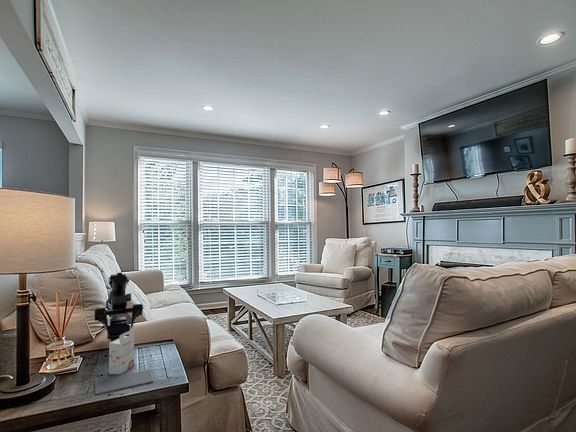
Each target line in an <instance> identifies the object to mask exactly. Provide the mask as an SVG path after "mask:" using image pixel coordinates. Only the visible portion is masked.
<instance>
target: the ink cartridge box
mask: <svg viewBox="0 0 576 432" xmlns="http://www.w3.org/2000/svg"><path fill="white" fill-rule="evenodd" d="M128 334H129V336H126V335H128ZM108 343H109V344H108V348H109V349H108V353H109V354H108V374H110V375H117V376H119V375H122V374H123V373H124V372H126V371H128V370H130V369H131V368H133V367H134V365H135V333H134V329H130V331H128V332H126V333H124V334H122V335H120V336H119V339H117V340H115V341H113V342H111V341H110V342H108Z"/></svg>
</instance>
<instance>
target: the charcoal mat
mask: <svg viewBox="0 0 576 432" xmlns="http://www.w3.org/2000/svg"><path fill="white" fill-rule="evenodd" d="M152 383H154V379H153V377H152V374H151V371H150V370H149V369H145V370H140V371H135V372H129V373H124V374H120V375H115V376H110V377H105V378H100V379H96V380H95V381H94V390H95V391H94V392H95V393H94V395H95V396H96V395H101V394H106V393H112V392H115V391H118V390H120V391H121V390H125V389H129V388H134V387H138V386H143V385H147V384H152Z"/></svg>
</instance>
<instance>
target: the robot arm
mask: <svg viewBox="0 0 576 432" xmlns="http://www.w3.org/2000/svg"><path fill="white" fill-rule="evenodd" d="M129 282H130V279H129V277H128V276H127V275H126V273H123V272H117V273H116V274H110V276H109V277H108V285H109V287H110V289H111V290H110V291H109V297H108V298H107V300H106V301H105V307H98V308H95V309H94V317H93V318H94V319H93V320H94V321H97V322H99V323H101V324H102V325H103V326H104V328H105V330H106V337H107V338H106V339H107V340H110V342H113V341H115V340H117V339H119V336H120V335H122V334H124V333H126V332H128V331H131V329H133V326H134V324H135V323H134V322H135V321H136V318H139V316H141V315H143V310H144V304H143V303H135V304H133V303H132V307H127V306H128V302H132V293H126V290H127V285H128V283H129ZM110 302H111V304H110ZM106 308H107V309H108V310H106ZM130 313H131V319H130V324H129V322H128V321H127V318H126V317H127V316H123V315H124V314H130ZM107 315H109V317H107ZM108 318H110V319H109V322H108ZM126 336H129V334H128V335H126Z"/></svg>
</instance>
